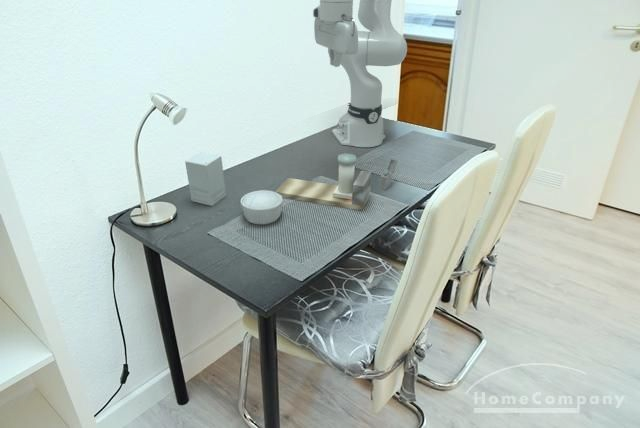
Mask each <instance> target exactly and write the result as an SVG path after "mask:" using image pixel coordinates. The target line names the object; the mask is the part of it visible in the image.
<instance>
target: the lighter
mask: <svg viewBox="0 0 640 428" xmlns="http://www.w3.org/2000/svg"><path fill="white" fill-rule="evenodd" d="M397 163H398V160H397V159H394V158H390V159H389V162H388V166H387V170H385V171H383V174H382V175H380V182H379V183H380V184H379V189H380V190H381V191H387V189H389V188H390V187H391V186H392V185H391V183H392V174H394V173H395V169H396V166H397Z"/></svg>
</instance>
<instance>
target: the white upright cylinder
mask: <svg viewBox="0 0 640 428" xmlns="http://www.w3.org/2000/svg"><path fill="white" fill-rule="evenodd" d="M337 163H338V181H337V182H338V183H337V185H338V186H337V187H336V189H335V190H334V192H333V197H337V198H344V199H350V200H352V191H353V184H354V182H355V169H356V168H355V167H356V165H355V164H357V155H355V154H353V153H341V154H338V155H337Z"/></svg>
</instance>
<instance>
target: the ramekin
mask: <svg viewBox="0 0 640 428" xmlns="http://www.w3.org/2000/svg"><path fill="white" fill-rule="evenodd" d="M239 204H240V207H241V208H242V212H243V215H244V217H245V219H246V220H247V221H248V222H250V224H255V225H268V224H269V225H270V224H272V223H274V222H275V221H277V220H278V219H279V218H280V216H281V214H282V206H283V204H284V198H282V196H281V195H280V194H278V193H276V191H273V190H265V189H262V190H254V191H251V192H248V193H246V194H244V195H243V196H242V197H241V199H240V203H239Z"/></svg>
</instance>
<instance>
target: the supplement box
mask: <svg viewBox="0 0 640 428" xmlns="http://www.w3.org/2000/svg"><path fill="white" fill-rule="evenodd" d="M222 159H223V158H222V155H219V154H218V155H217V154H211V153H207V152H202V151H201V152H199V153H197V154H195V155H194V156H192V157H191V158H188V159H186V160H185V161H184V162H185V169H186V175H187V180H188V181H187V182H188V186H189V194H190V198H191V199H190V200H191V202H192V203H193V202H194V203H199V204H201V205H206V206H211V207H212V206H214V205H215V204H217V203H218V202H219V201H220V200H222V199H223V198H225V197H226V196H227V192H226V184H225V183H226V182H225V175H224V169H223V168H224V167H223V160H222Z"/></svg>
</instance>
